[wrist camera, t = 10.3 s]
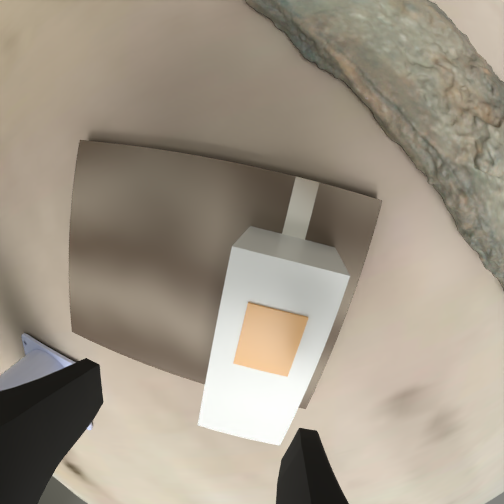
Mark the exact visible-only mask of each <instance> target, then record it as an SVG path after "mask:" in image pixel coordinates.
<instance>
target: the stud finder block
mask: <svg viewBox="0 0 504 504" xmlns="http://www.w3.org/2000/svg"><path fill="white" fill-rule="evenodd" d="M349 278H350V275H349V273H348V271H347V269H346V267H345V265H344V263H343V261H342V259H341V257H340V255H339V254H338V252H337V250H336V248H335V247H331V246H328V245H324V244H320V243H316V242H312V241H308V240H304V239H300V238H296V237H292V236H289V235H285V234H281V233H277V232H273V231H268V230H264V229H260V228H256V227H252V226H250V227H249V228H248V229H247V230H246V231H245V232H244V233H243V234H242V236H241V237H240V238H239V239H238V240H237V241H236V242H235V243H234V244H233V246H232V249H231V253H230V258H229V263H228V268H227V273H226V278H225V283H224V288H223V293H222V298H221V303H220V308H219V313H218V318H217V323H216V328H215V334H214V339H213V344H212V349H211V355H210V360H209V365H208V371H207V376H206V382H205V387H204V393H203V398H202V404H201V409H200V415H199V421H198V425H199V426H202V427H205V428H209V429H212V430H216V431H219V432H223V433H227V434H230V435H234V436H238V437H242V438H246V439H251V440H255V441H260V442H264V443H269V444H274V445H280V444H281V442H282V440H283V438H284V436H285V434H286V432H287V430H288V428H289V426H290V424H291V422H292V420H293V418H294V416H295V414H296V412H297V409H298V407H299V405H300V403H301V401H302V399H303V396H304V394H305V392H306V390H307V387H308V385H309V383H310V381H311V378H312V376H313V374H314V371H315V369H316V366H317V364H318V362H319V359H320V357H321V354H322V352H323V349H324V347H325V344H326V342H327V339H328V337H329V334H330V331H331V329H332V326H333V323H334V321H335V318H336V315H337V312H338V310H339V307H340V304H341V301H342V298H343V296H344V293H345V290H346V287H347V284H348V281H349Z"/></svg>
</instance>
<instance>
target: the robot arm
mask: <svg viewBox="0 0 504 504" xmlns="http://www.w3.org/2000/svg"><path fill="white" fill-rule="evenodd" d="M22 342H23V346H24V351H25V355H26V356H24V357H23V358H22V359H20V360H19V361H18V362H17V363H15V364H14V365H13V366H11V367H10V368H9V369H8V370H6V371H5V372H4V373H3V374H1V375H0V504H37V503H38V501H39V499H40V497H41V495H42V493H43V491H44V489H45V487H46V485H47V483H48V481H49V480H50V478H51V476H52V475H53V473H54V471H55V469H56V468H57V466H58V465H59V463H60V462H61V460H62V459H63V458H64V456H65V455H66V454H67V453H68V451H69V450H70V449H71V448H72V446H73V445H74V444H75V443H76V441H77V440H78V439H79V438H80V436H81V435H82V434H83V433H84V431H85V430H86V429H88V430H91V429H92V428H93V427H92V421H93V419H94V418H95V416H96V414H97V413H98V411H99V409H100V407H101V405H102V404H103V395H102V386H101V376H100V365H99V364H97V363H95V362H93V361H91V360H89V359H87V358H86V359H83V360H81V361H78V362H74V361H72V360H70V359H68V358H67V357H65V356H63V355H61V354H59V353H58V352H56V351H54V350H52V349H51V348H49V347H47V346H45V345H44V344H42V343H40V342H39V341H37V340H35V339H34V338H32V337H31V336H29V335H28V334H26V333H23V334H22ZM276 504H349V503H348V501H347V499H346V497H345V496H344V494H343V492H342V490H341V488H340V486H339V484H338V481H337V479H336V477H335V475H334V473H333V471H332V468H331V466H330V463H329V461H328V458H327V456H326V453H325V451H324V448H323V445H322V443H321V440H320V437H319V434H318V432H317V431H315V430H309V429H303V428H299V429H298V431H297V433H296V435H295V437H294V439H293V440H292V442H291V444H290V446H289V448H288V449H287V451H286V453H285V455H284V456H283V458H282V460H281V466H280V471H279V477H278V482H277V496H276Z"/></svg>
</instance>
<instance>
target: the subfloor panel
mask: <svg viewBox="0 0 504 504" xmlns="http://www.w3.org/2000/svg"><path fill="white" fill-rule="evenodd" d="M381 203H382V200H379V199H376V198H372V197H369V196H366V195H362V194H359V193H356V192H352V191H349V190H345V189H342V188H338V187H335V186H331V185H327V184H324V183H320V182H316V181H312V180H309V179H305V178H301V177H297V176H293V175H289V174H284V173H280V172H276V171H272V170H267V169H263V168H258V167H254V166H249V165H244V164H240V163H235V162H230V161H225V160H219V159H214V158H209V157H203V156H198V155H192V154H186V153H180V152H174V151H167V150H161V149H154V148H147V147H140V146H132V145H124V144H115V143H106V142H96V141H85V140H80V143H79V148H78V154H77V161H76V168H75V175H74V184H73V193H72V203H71V216H70V234H69V295H70V313H71V326H72V332H74V333H76V334H78V335H80V336H82V337H84V338H86V339H88V340H90V341H92V342H95V343H97V344H99V345H101V346H103V347H106V348H108V349H110V350H112V351H115V352H117V353H120V354H122V355H124V356H127V357H129V358H132V359H134V360H137V361H139V362H142V363H144V364H147V365H150V366H152V367H155V368H158V369H160V370H163V371H166V372H169V373H172V374H174V375H177V376H180V377H183V378H186V379H189V380H192V381H196V382H199V383H202V384H205V382H206V376H207V371H208V365H209V360H210V355H211V349H212V344H213V339H214V334H215V328H216V323H217V318H218V313H219V308H220V303H221V298H222V293H223V288H224V283H225V278H226V273H227V268H228V263H229V258H230V253H231V249H232V246H233V244H234V243H235V242H236V241H237V240H238V239H239V238H240V237H241V236H242V234H243V233H244V232H245V231H246V230H247V229H248V228H249V227H250V226H252V227H256V228H260V229H264V230H268V231H273V232H277V233H281V234H285V235H289V236H292V237H296V238H300V239H304V240H308V241H312V242H316V243H320V244H324V245H328V246H331V247H335V248H336V250H337V252H338V254H339V255H340V257H341V259H342V261H343V263H344V265H345V267H346V269H347V271H348V273H349V275H350V278H349V281H348V284H347V287H346V290H345V293H344V296H343V298H342V301H341V304H340V307H339V310H338V312H337V315H336V318H335V321H334V323H333V326H332V329H331V331H330V334H329V337H328V339H327V342H326V344H325V347H324V349H323V352H322V354H321V357H320V359H319V362H318V364H317V366H316V369H315V371H314V374H313V376H312V378H311V381H310V383H309V385H308V387H307V390H306V392H305V394H304V396H303V399H302V401H301V403H300V405H299V407H298V408H304V409H306V407H307V405H308V403H309V401H310V399H311V397H312V395H313V393H314V390H315V388H316V386H317V384H318V382H319V379H320V377H321V375H322V373H323V370H324V368H325V366H326V364H327V361H328V359H329V357H330V354H331V352H332V349H333V347H334V345H335V342H336V340H337V337H338V335H339V332H340V329H341V327H342V324H343V322H344V319H345V316H346V314H347V311H348V308H349V306H350V303H351V300H352V297H353V295H354V292H355V289H356V286H357V283H358V280H359V277H360V274H361V271H362V268H363V265H364V262H365V259H366V256H367V252H368V249H369V246H370V243H371V239H372V236H373V233H374V229H375V226H376V222H377V218H378V215H379V211H380V207H381Z"/></svg>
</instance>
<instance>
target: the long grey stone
mask: <svg viewBox="0 0 504 504" xmlns="http://www.w3.org/2000/svg"><path fill="white" fill-rule="evenodd" d="M245 1H246V3H247V4H248V5H250V6H251V7H253V8H254V9H255V10H256V11H257V12H260V13H262V14H263V15H265V16H266V17H269V18H270V19H272V21H273V22H274V24H275V26H276V27H277V28H278V29H280V30H282V31H284V32H286V33H287V35H288V37H289V38H290V39H291V41H292V42H293V44H294V45H295V47H297V48H298V49H299V51H300V53H301V54H302V55H303V57H304V58H306V59H307V60H309V61H310V62H315V63H316V64H317V66H318V67H319V68H320V69H322V70H325V71H328V72H330V73H332V74H333V75H334V78H337V79H342V80H343V81H344V82H345V83H346V84H347V85H348V86H349V87H350V88H351V89H352V90H353V92H354V93H355V94H356V95H357V96H358V97H359V98H360V99H361V100H362V101H363V103H364V104H365V105H366V106H368V107H369V108H370V110H371V111H372V112H373V113H374V118H375V119H376V120H377V122H378V123H379V124H380V126H381V128H382V129H384V131H385V133H386V135H387V136H388V137H389V138H390V139H391V140H392V141H394V142H396V143H398V144H399V145H400V146H402V147H403V149H404V150H405V152H406V154H407V155H408V156H410V157H411V160H412V161H413V162H414V163H415V165H416V168H417V169H418V170H420V171H422V172H423V173H424V174H425V175H426V176H427V177H428V183H429V184H433V186H434V188H435V189H436V190H437V191H438V193H439V194H440V195H441V196H442V198H443V200H444V203H445V205H446V207H447V209H448V211H449V212H450V214H451V215H452V216H453V218H454V219H455V222H456V225H457V229H458V231H459V233H460V234H461V235H462V237H463V238H464V239H465V241H466V242H467V243H468V244H469V246H470V247H471V248H472V249H473V250H475V251H477V252H478V253H479V256H480V259H481V260H482V262H483V265H484V267H485V268H486V269H487V270H489V271H491V272H492V274H493V276H494V277H496V278H498V279H499V281H500V283H501V285H502V287H503V290H504V82H503V81H500V79H499V78H498V76H496V75H495V73H494V72H493V70H492V67H491V66H490V65H488V63H487V62H486V60H485V59H483V57H482V56H481V55H479V54H478V53H477V52H476V50H475V48H474V47H473V46H472V44H471V43H470V41H469V39H468V37H467V35H465V34H463V33H462V32H461V31H459V30H458V28H457V27H456V26H455V24H454V23H453V22H452V20H451V19H450V18H448V17H447V15H446V14H445V13H444V12H443V11H442V10H441V9H440V8H439V7H438V6H437V4H435V3H432V2H430V1H429V0H245Z"/></svg>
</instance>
